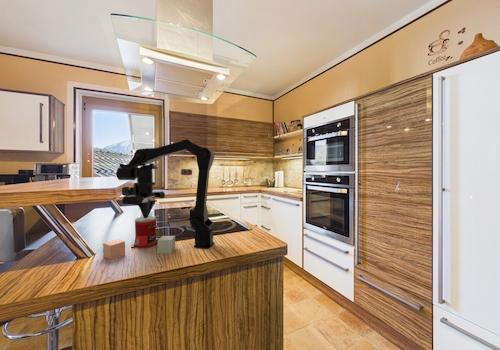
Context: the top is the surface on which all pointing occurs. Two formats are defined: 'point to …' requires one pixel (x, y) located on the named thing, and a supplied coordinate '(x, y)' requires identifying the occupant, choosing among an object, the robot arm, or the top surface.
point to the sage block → (166, 244)
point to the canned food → (145, 231)
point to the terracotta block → (113, 249)
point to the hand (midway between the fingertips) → (145, 218)
